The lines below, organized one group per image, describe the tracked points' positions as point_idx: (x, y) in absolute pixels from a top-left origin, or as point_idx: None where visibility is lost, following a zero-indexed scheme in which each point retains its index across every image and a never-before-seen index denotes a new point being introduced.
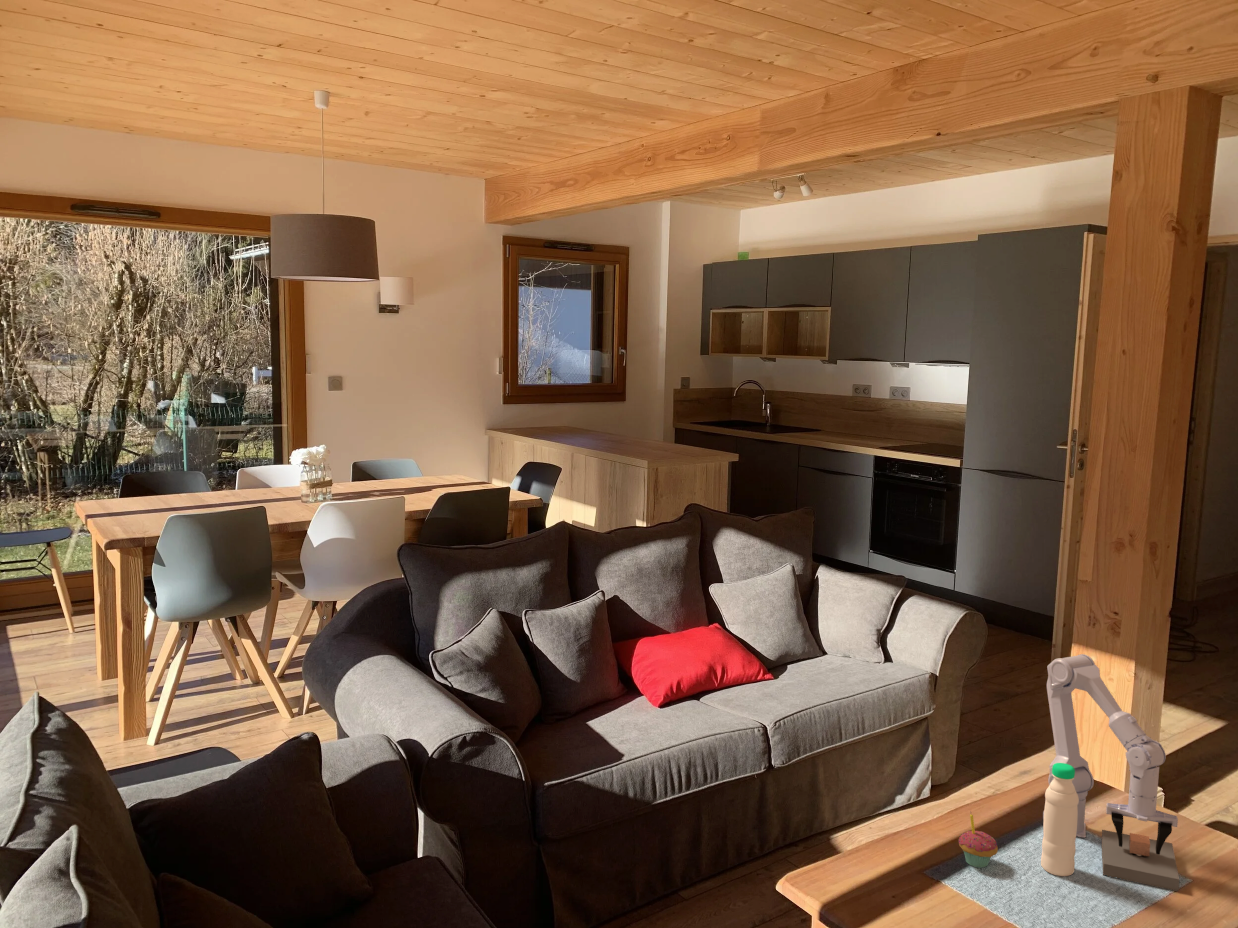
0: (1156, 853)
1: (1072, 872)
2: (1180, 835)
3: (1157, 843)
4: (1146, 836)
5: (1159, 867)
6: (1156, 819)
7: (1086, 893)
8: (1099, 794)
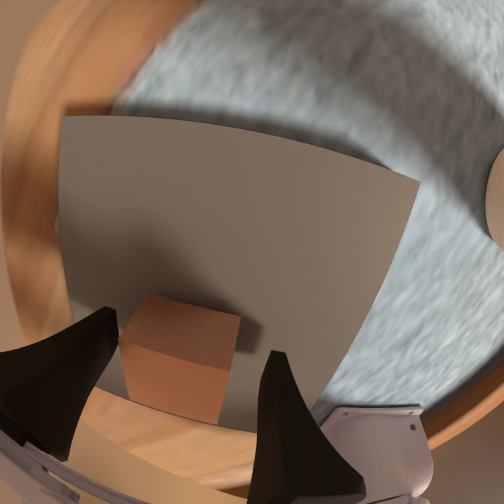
0: (114, 309)
1: (501, 154)
2: (105, 415)
3: (90, 348)
4: (140, 399)
5: (117, 209)
6: (6, 465)
7: (469, 32)
8: (234, 487)
